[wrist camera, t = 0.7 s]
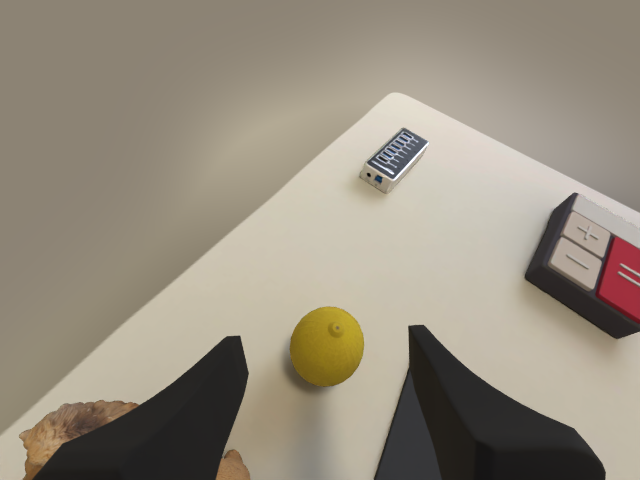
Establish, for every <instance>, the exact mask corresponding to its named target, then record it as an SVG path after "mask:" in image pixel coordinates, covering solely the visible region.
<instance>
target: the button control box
mask: <svg viewBox="0 0 640 480" xmlns="http://www.w3.org/2000/svg"><path fill="white" fill-rule="evenodd" d="M548 224H549V226H548V228H547V230H546V232H545V234H544V237H543V239H542V241H541V243H540V245H539V247H538V249H537V251H536V253H535V256H534V258H533V260H532V262H531V264H530V266H529V268H528V270H527V272H526V275H525V277H526V279H527V280H529V281H530V282H532V283H533V284H535V285H536V286H538V287H539V288H541V289H542V290H544V291H545V292H547V293H548V294H550V295H551V296H553V297H554V298H556V299H557V300H559V301H560V302H562V303H564V304H565V305H567V306H568V307H570V308H571V309H573V310H574V311H576V312H577V313H579V314H580V315H582V316H583V317H585V318H586V319H588V320H589V321H591V322H592V323H594V324H595V325H597V326H598V327H600V328H601V329H603V330H604V331H606V332H607V333H609V334H610V335H612V336H614V337H615V338H618V339H619V338H622V337H625V336H628V335H631V334H634V333H637V332H640V228H639V227H637V226H636V225H634V224H632V223H630V222H629V221H627V220H625V219H623V218H622V217H620V216H618V215H616V214H615V213H613V212H611V211H609V210H608V209H606V208H604V207H602V206H601V205H599V204H597V203H595V202H593V201H592V200H590V199H588V198H586V197H585V196H583V195H581V194H578V193H573V194H572V195H570V196H569V197H568V198H567V199H566V200H565V201H563V202H562V203H561V204H560V205H559V206H558V207H556V208H555V209H554V211H553V214H552V216H551V218H550V220H549V222H548Z"/></svg>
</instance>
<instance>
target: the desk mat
mask: <svg viewBox="0 0 640 480" xmlns="http://www.w3.org/2000/svg"><path fill="white" fill-rule="evenodd" d="M374 480H442V478H441V474H440V470H439V466H438V462H437V457H436V453H435V450H434V446H433V443H432V440H431V437H430V434H429V431H428V428H427V425H426V422H425V419H424V416H423V413H422V410H421V407H420V404H419V401H418V398H417V395H416V392H415V389H414V385H413V380H412V375H411V371H410V367H409V370H408V373H407V377H406V380H405V383H404V386H403V389H402V393H401V396H400V399H399V402H398V405H397V409H396V412H395V415H394V418H393V421H392V425H391V428H390V431H389V434H388V438H387V441H386V444H385V447H384V450H383V454H382V457H381V460H380V463H379V466H378V470H377V473H376V476H375V479H374Z"/></svg>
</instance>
